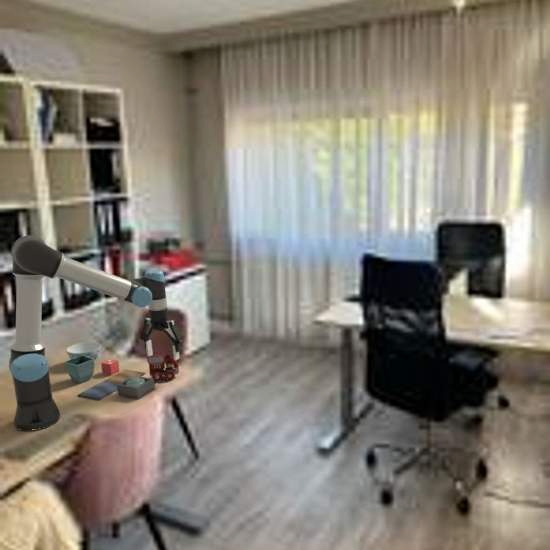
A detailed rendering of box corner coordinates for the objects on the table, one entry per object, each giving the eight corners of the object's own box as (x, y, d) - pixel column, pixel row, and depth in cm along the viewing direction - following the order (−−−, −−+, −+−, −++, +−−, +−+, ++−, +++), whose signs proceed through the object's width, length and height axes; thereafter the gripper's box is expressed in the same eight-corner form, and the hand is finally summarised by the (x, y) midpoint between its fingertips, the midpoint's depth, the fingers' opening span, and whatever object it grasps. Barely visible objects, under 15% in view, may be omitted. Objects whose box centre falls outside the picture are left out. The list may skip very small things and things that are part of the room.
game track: (99, 400, 222) (99, 398, 222) (77, 396, 227) (77, 394, 227) (145, 373, 246) (145, 372, 246) (125, 370, 251) (125, 369, 251)
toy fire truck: (179, 379, 239) (177, 355, 236) (148, 383, 237) (146, 358, 234) (179, 373, 245) (177, 350, 243) (149, 376, 243) (147, 353, 241)
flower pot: (79, 386, 237) (76, 365, 235) (66, 381, 242) (63, 361, 240) (97, 379, 243) (94, 358, 242) (84, 374, 249) (82, 355, 247)
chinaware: (71, 372, 252) (69, 355, 251) (65, 362, 265) (63, 346, 264) (106, 365, 259) (104, 348, 258) (99, 355, 272) (97, 339, 271)
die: (111, 375, 246) (110, 364, 245) (102, 374, 249) (101, 362, 248) (119, 371, 251) (118, 360, 250) (110, 369, 253) (109, 358, 252)
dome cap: (137, 393, 223) (136, 381, 222) (123, 391, 226) (122, 379, 225) (149, 386, 229) (147, 374, 228) (134, 384, 232) (133, 372, 231)
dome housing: (138, 399, 221) (137, 388, 220) (118, 395, 225) (116, 384, 224) (154, 389, 230) (153, 378, 229) (134, 385, 234) (133, 375, 233)
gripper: (188, 307, 232) (193, 357, 237) (139, 303, 243) (144, 351, 248) (177, 312, 226) (183, 364, 231) (127, 308, 237) (133, 357, 241)
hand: (163, 357), depth 239 cm, fingers open, 13 cm apart
